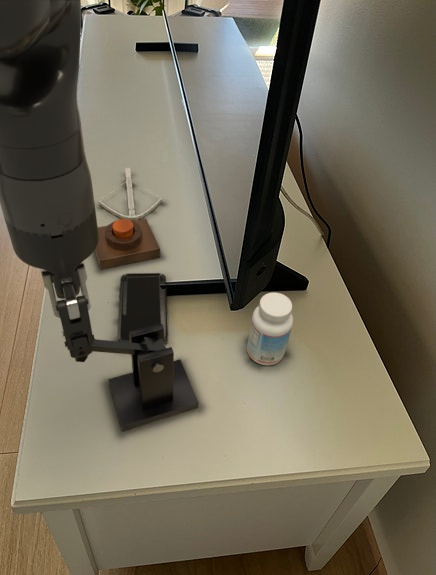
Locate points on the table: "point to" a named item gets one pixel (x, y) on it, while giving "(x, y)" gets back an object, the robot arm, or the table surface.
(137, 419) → the bracket
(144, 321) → the phone
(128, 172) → the crossbow
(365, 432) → the table surface
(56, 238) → the robot arm
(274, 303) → the pill bottle
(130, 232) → the button
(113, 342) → the lever
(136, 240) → the button block
